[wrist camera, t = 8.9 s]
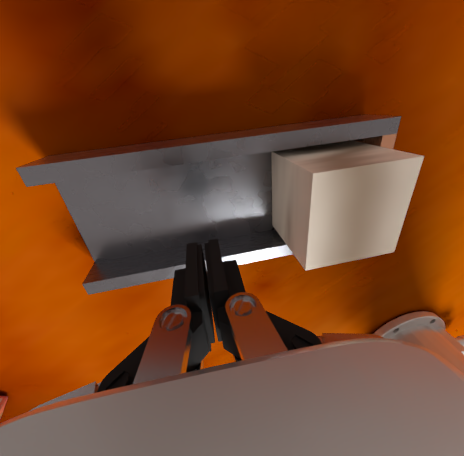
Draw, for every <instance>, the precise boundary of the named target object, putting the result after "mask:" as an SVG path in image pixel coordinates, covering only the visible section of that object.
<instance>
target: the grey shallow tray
mask: <svg viewBox="0 0 464 456" xmlns="http://www.w3.org/2000/svg"><path fill="white" fill-rule="evenodd" d="M400 119H401V116H386V115H368V114H363V115H356V116H348V117H340V118H333V119H325V120H317V121H310V122H302V123H294V124H287V125H279V126H271V127H264V128H256V129H249V130H241V131H233V132H226V133H218V134H210V135H203V136H195V137H187V138H180V139H172V140H164V141H157V142H149V143H141V144H134V145H126V146H118V147H111V148H103V149H96V150H88V151H80V152H73V153H65V154H57V155H50V156H47V157H44V158H41V159H39V160H36V161H33V162H31V163H28V164H26V165H23V166H20V167H18V168H16V169H17V171H18V172H19V174H20V176H21V178H22V179H23V181H24V183H25V185H26V186H27V187H28V186H35V185H42V184H49V183H55V184H56V186H57V188H58V190H59V192H60V194H61V196H62V198H63V200H64V202H65V204H66V206H67V208H68V210H69V212H70V214H71V216H72V218H73V220H74V222H75V224H76V226H77V228H78V230H79V232H80V234H81V236H82V238H83V240H84V242H85V244H86V246H87V248H88V250H89V251H90V253H91V255H92V257H93V259H94V261H95V263H94V265H93V266H92V268H91V270H90V272H89V273H88V275H87V277H86V279H85V280H84V282H83V286H84V288H85V290H86V291H87V293H88V295H89V294H94V293H99V292H104V291H109V290H114V289H119V288H124V287H129V286H134V285H139V284H145V283H150V282H155V281H160V280H165V279H170V278H174V272H175V270H178V269H184V268H186V246H187V244H188V243H194V242H197V244H201V245H202V250H203V255H204V260H205V265H206V256H205V245H204V243H208V240H212V239H218V242H219V247H220V252H221V257H222V262H224V261H230V260H236V261H237V265H241V264H246V263H251V262H256V261H261V260H266V259H271V258H276V257H281V256H286V255H291V254H293V253H292V251H291V250H290V249H289V247H288V246H287V245H286V243H285V242H284V240H283V239H282V238H281V236H280V235H279V234H278V232H277V231H276V230H275V228H274V227H273V225H272V159H271V152H272V151H279V150H286V149H293V148H300V147H307V146H314V145H321V144H328V143H335V142H342V141H349V140H352V141H357V142H361V143H366V144H371V145H375V146H380V147H385V148H389V149H393V148H394V144H395V140H396V135H397V131H398V127H399V123H400ZM206 270H207V267H206Z"/></svg>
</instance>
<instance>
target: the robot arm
mask: <svg viewBox="0 0 464 456" xmlns="http://www.w3.org/2000/svg"><path fill="white" fill-rule="evenodd" d="M204 245H205V256H206V265H205V260H204V255H203V250H202V245H201V244H197V242H194V243H188V244H187V246H186V268H184V269H178V270H175V272H174V281H173V290H172V299H171V306H169V307H167V308H165V309H164V310H162V311H161V312H160V313H159V314H158V316H157V318H156V320H155V322H154V325H153V328H152V331H151V334H150V336H149V337H148V338H147V339H146V340H145V341H144V342H143V343H142V344H141V345H139V346H138V347H137V348H136V349H135V350H134V351H133V352H132V353H131V354H130V355H128V356H127V357H126V358H125V359H124V360H123V361H122V362H121V363H120V364H119V365H117V366H116V367H115V368H114V369H113V370H112V371H111V372H110V373H109V374H108V375H107V376H106V377H105V378H104V379H103V381H102V382H101V383H99V384H97V383H96V382H93V383H91V384H88V385H86V386H84V387H81V388H79V389H77V390H74V391H72V392H70V393H67V394H65V395H62V396H60V397H58V398H55V399H53V400H51V401H48V402H46V403H44V404H41V405H39V406H37V407H35V408H33V409H32V410H30V411H29V412H26V413H23V414H21V415H19V416H16V417H14V418H12V419H10V420H7V421H5V422H3V423H1V424H0V456H464V335H462V336H458V337H456V338H454V337H452V336H451V335H450V334H449V333H448V332H446V331H445V323H444V321H443V320H442V319H441V318H440V317H438V316H437V315H436V314H435V313H432V312H427V311H419V312H413V313H408V314H405V315H403V316H400V317H398V318H396V319H394V320H391V321H390V322H388V323H386V324H385V325H383V326H382V327H381V328H379V329H378V330H377V331H375V332H374V333H373V334H341V333H323V334H322V336H316V335H315V334H313V333H312V332H310V331H308V330H306V329H304V328H302V327H299V326H297V325H295V324H293V323H291V322H289V321H287V320H284V319H282V318H280V317H278V316H276V315H274V314H271V313H269V312H267V311H265V310H264V308H263V306H262V304H261V303H260V301H259V299H258V298H257V297H256V296H255V295H253V294H251V293H247V292H245V289H244V285H243V282H242V278H241V275H240V272H239V268H238V265H237V261H236V260H230V261H224V262H222V257H221V252H220V247H219V242H218V239H212V240H208V243H204ZM206 267H207V270H206ZM212 312H213V317H214V322H215V327H216V332H217V337H218V341H223V347H224V349H226V350H227V351H229V352H230V353H232V354H233V358H234V362H233V363H228V364H224V365H219V366H214V367H210V368H205V369H203V368H204V361H203V359H204V357H205V356H206V355H207V354H208V352H209V351H211V343H215V338H214V327H213V317H212Z"/></svg>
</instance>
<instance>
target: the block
mask: <svg viewBox="0 0 464 456" xmlns="http://www.w3.org/2000/svg"><path fill="white" fill-rule="evenodd" d="M271 159H272V225H273V227H274V228H275V230H276V231H277V232H278V234H279V235H280V236H281V238H282V239H283V240H284V242H285V243H286V245H287V246H288V247H289V249H290V250H291V251H292V253H293V254H294V256H295V257H296V258H297V260H298V261H299V262H300V264H301V265H302V267H303V268H304V269H305V271H306V270H311V269H316V268H320V267H325V266H330V265H335V264H340V263H344V262H349V261H354V260H359V259H364V258H369V257H373V256H378V255H383V254H388V253H393V252H394V251H395V248H396V245H397V242H398V238H399V235H400V232H401V229H402V226H403V222H404V219H405V216H406V213H407V210H408V207H409V203H410V200H411V197H412V194H413V191H414V187H415V184H416V181H417V178H418V175H419V171H420V168H421V165H422V162H423V159H424V156H422V155H417V154H413V153H408V152H403V151H399V150H394V149H389V148H385V147H380V146H375V145H371V144H366V143H361V142H357V141H352V140H349V141H342V142H335V143H328V144H321V145H314V146H307V147H300V148H293V149H286V150H279V151H272V152H271Z"/></svg>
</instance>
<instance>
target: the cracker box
mask: <svg viewBox="0 0 464 456" xmlns="http://www.w3.org/2000/svg"><path fill="white" fill-rule="evenodd" d="M7 400H8V396H0V419H1V416H2V413H3V411H4V407H5V405H6V402H7Z"/></svg>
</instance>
